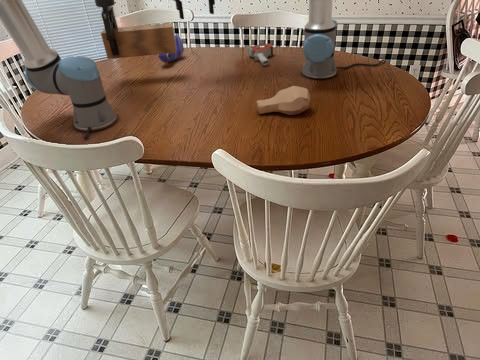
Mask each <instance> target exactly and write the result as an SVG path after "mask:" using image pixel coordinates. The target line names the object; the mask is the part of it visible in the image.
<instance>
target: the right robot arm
mask: <svg viewBox="0 0 480 360" xmlns="http://www.w3.org/2000/svg"><path fill="white" fill-rule="evenodd" d="M172 1H174V2H175V8H176V11H178V13H179V19H180V20H184V19H185V14H184V8H183V1H181V0H172ZM215 5H216V0H208V10H209V14H211V15H215V9H214V6H215ZM332 16H333V0H308V21H307V23H306V24H305V25H304V41H303V45H302V53H303V55H304V58H305V60H304V62H303V66H302V71H301V74H302V76H303V77H305V78H307V79H312V80H328V79H332V78H334V77H336V75H337V69H341V70H346V69H350V68H351V67H353V66H367V67H376V66H379V65H380V64H382V63H383V62H384V63H386V62H387V61H386V60H385V59H381V60H380V61H379V62H378V63H363V62H361V63H360V62H358V63H351V64H349V65H348V66H337V65H336V59H335V50H336V49H335V48H336V38H337V29H338V21H337V20H335V19H332Z"/></svg>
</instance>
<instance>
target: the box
mask: <svg viewBox="0 0 480 360" xmlns="http://www.w3.org/2000/svg"><path fill="white" fill-rule="evenodd" d="M113 31H114V37H115V39H116V43H117V47H118V51H119V55H115V56H113V54H112V50H111V47H110V43H109V40H107V36H106V31H105V28H103V29H102V31H101V32H100V36H101V41H102V43H103V48H104V50H105V55H106V58H107V60H112V59H114V60H115V59H122V58H124V59H125V58H135V57H143V56H144V57H146V56H154V55H155V56H158V54H168V53H176V50H177V47H176V41H175V36H176V35H175V29H174V23H173V22H167V23H166V22H165V23H155V24H145V25H144V24H143V25H133V26H121V27H119V26H118V28H113Z"/></svg>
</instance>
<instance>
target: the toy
mask: <svg viewBox="0 0 480 360" xmlns="http://www.w3.org/2000/svg"><path fill="white" fill-rule="evenodd" d="M175 41H176V47H177V50H176V53H168V54H157V57H158V59H159V60H160V61H161V62H163V63H164V64H165V66H166V67H168V64H169V62H172V61H176V60H178V59H179V58H180V57H181V56H182V55H183V54H184V49H185V48H184V42H183V40H182V38H181V36H180V35H178V34H176V35H175Z"/></svg>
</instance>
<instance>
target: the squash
mask: <svg viewBox="0 0 480 360" xmlns="http://www.w3.org/2000/svg"><path fill="white" fill-rule="evenodd" d="M311 98H312V97H311V95H310V90H309V89H307V88H306V87H302V86H298V85H292V86H289V87H287V88H283V89H280V90H279V91H277V92H276V94H275V95H274V96H272V97H271V98H265V99H257V100H256V102H255V103H256V107H257V109H256V110H257V113H258V114H259V115H263V114H266V113H273V112H275V113H282V114H284V115H287V116H295V115H300V114H301V113H303V112H305V111H306V110H308V109H309V107H310V102H311Z"/></svg>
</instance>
